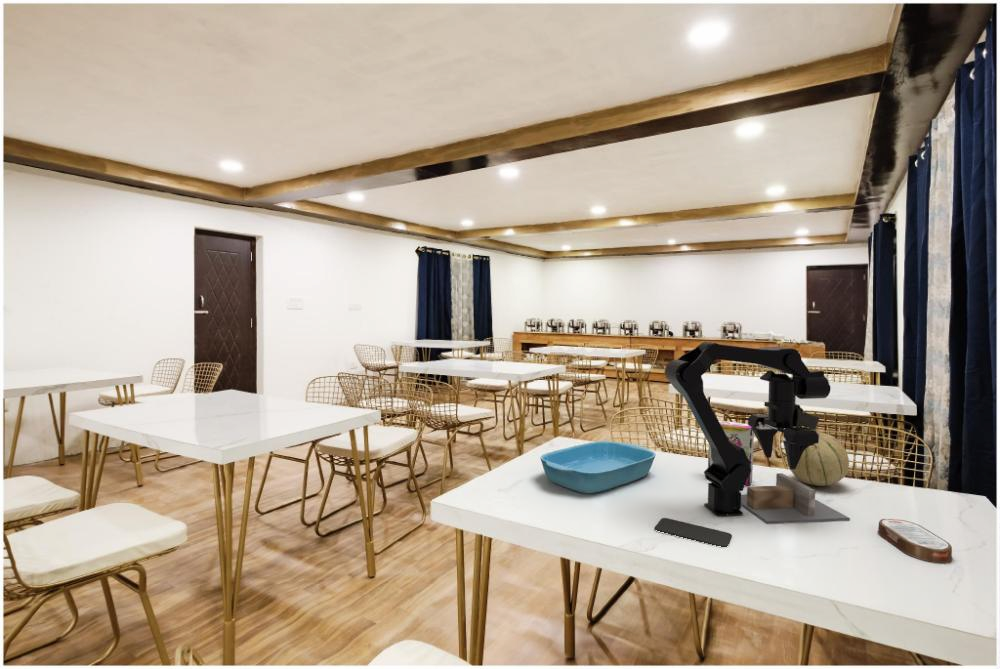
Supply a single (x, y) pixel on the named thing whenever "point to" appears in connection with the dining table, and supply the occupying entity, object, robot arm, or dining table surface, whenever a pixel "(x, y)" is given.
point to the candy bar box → (739, 441)
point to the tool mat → (795, 514)
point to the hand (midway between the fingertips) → (780, 463)
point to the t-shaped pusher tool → (782, 496)
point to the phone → (694, 532)
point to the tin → (915, 540)
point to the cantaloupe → (822, 462)
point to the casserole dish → (597, 465)
